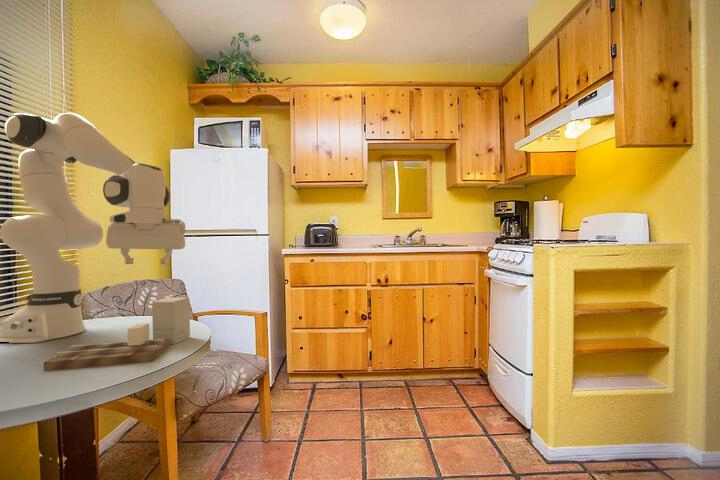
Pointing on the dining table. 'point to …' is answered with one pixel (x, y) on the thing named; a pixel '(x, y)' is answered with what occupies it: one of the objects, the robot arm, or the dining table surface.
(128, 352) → the brown striped wooden board
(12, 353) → the dining table surface
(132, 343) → the beige cube
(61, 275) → the robot arm
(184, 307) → the supplement box
